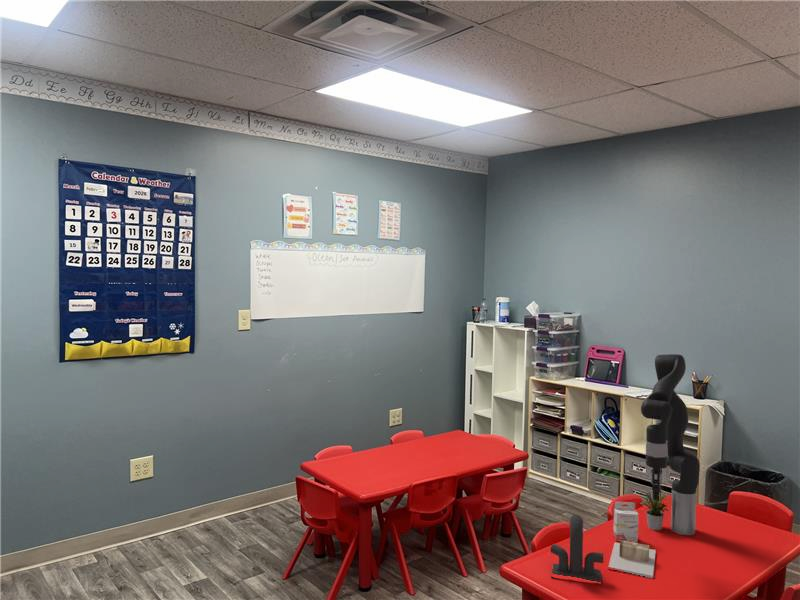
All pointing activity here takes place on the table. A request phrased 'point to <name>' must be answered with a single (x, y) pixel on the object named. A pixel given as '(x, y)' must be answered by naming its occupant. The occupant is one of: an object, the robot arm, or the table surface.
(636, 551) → the wooden block
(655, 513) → the house plant
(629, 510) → the ink cartridge box
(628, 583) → the table surface
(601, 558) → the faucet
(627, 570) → the grey board
